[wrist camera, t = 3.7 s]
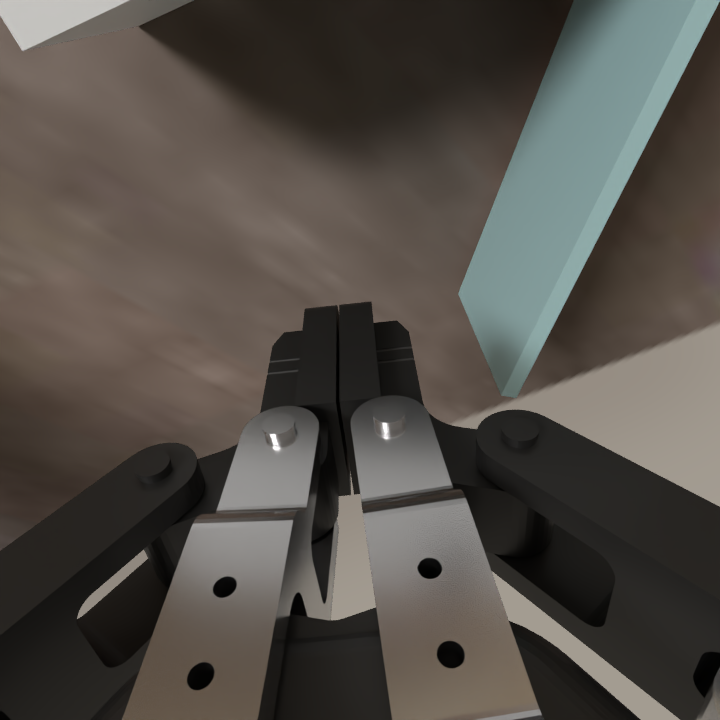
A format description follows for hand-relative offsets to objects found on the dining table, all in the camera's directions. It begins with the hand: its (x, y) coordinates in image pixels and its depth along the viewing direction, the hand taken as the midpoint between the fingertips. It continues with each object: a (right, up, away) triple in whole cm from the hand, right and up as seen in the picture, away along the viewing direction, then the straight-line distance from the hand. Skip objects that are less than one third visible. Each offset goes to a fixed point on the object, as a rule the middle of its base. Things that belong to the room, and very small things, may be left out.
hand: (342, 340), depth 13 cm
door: (+7, +8, +6) cm, 12 cm away
